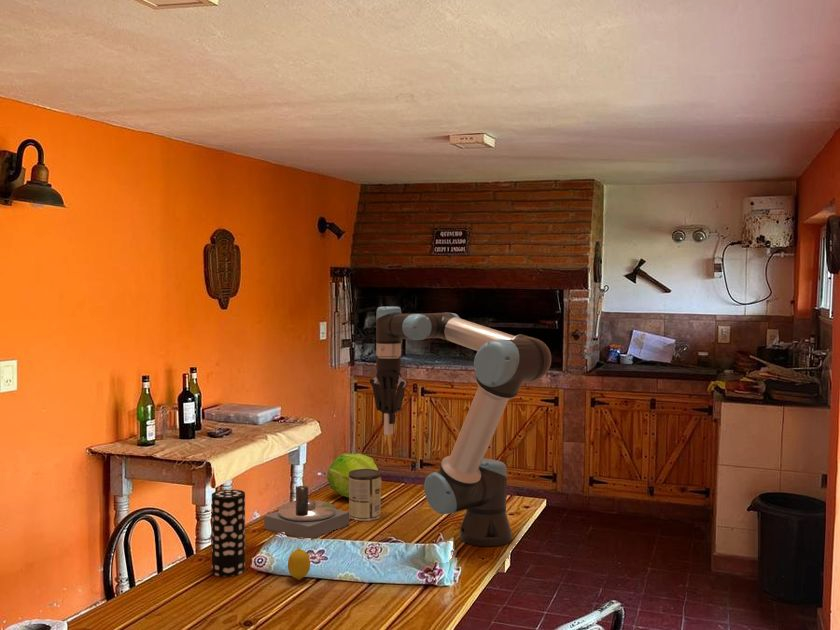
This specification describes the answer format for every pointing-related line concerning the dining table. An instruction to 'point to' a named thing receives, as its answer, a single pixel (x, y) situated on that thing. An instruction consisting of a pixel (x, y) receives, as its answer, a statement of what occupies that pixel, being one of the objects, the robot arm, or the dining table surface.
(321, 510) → the peg on round base
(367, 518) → the coffee can
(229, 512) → the spotted tube
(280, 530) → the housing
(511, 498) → the dining table surface
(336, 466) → the lettuce
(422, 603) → the dining table surface
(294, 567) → the lemon
